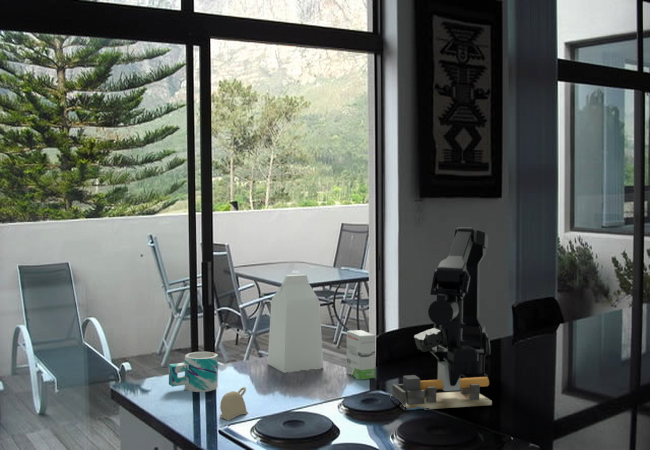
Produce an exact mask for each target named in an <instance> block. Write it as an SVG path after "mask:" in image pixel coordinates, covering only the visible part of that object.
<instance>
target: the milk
mask: <svg viewBox="0 0 650 450" xmlns="http://www.w3.org/2000/svg"><path fill="white" fill-rule="evenodd" d="M321 312H322V311H321V303H320V300H319V298H318V296H317V294H316V292H315V291H314V289H313V287H312V286H311V284H310V282H309V279H308V276H307V274H286V275H285V276H284V279H283V281H282V283H281V285H280V287H279V288H278V289H277V291H276V292H275V293H274V295H273V296H272V298H271V302H270V315H269V334H268V335H269V336H268V351H267V353H268V354H267V364H268V365H269V366H270V367H273V368H275V369H276V370H278V371H280V372H282V373H284V374H286V373H287V372H288V373H294V372H293V371H297V372H300V371H299V370H306V371H309V370H308V369H315V370H320V369H319V368H323V369H324V360H323V359H324V358H323V357H324V356H323V335H322V316H321V315H322V314H321Z"/></svg>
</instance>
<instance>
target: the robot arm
mask: <svg viewBox="0 0 650 450" xmlns="http://www.w3.org/2000/svg"><path fill="white" fill-rule="evenodd" d="M452 239H453V241H452V244H451V248H450V250H449V253H448V256H447V258H444V259H443V260H441V261H440V262H439V264H438V266H437V268H436V269H434V273H433V276H432V283H431V288H430V295H431V296H436V300H434V301H433V302H431V304H430V305H429V307H428V309H427V310H428V311H427V313H428V317H429V319H430V321H431V322H432V323H433V328H430V329H426V330H424V331H422V332H419V333H417V334H414V336H413V338H414V341H415V345H416V347H417V350H420V351H421V352H422V353H424V352H428V351H429V352H430V353H431V354H432V355H433V356H434V357H435V358H436V360H437V363H438V362H447V363H448V368H449V379H450V385H451V386H455V385H456V383H457V381H458V379H459V377H460V378H461V376H462V377H463V378H475V377H488V374H486V373H485V368H486V367H485V365H486V364H485V361H486V356H488V355H491V343H490V338H489V337H488V333H487V332H486V324H485V323H484V321H483V320H482V318H481V316H480V293H481V292H480V287H481V286H480V283H481V282H480V281H481V279H480V278H481V277H480V276H481V272H480V271H481V262H482V260H483V259H484V257H486V254H487V249H488V248H489V235H488V234H487V233H486V232H485V231H483V230H482V231H481V230H478V229H476V228H474V227H468V226H467V227H466V226H459V227H455V230H454V232H453V238H452Z"/></svg>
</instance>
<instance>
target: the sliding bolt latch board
mask: <svg viewBox="0 0 650 450" xmlns="http://www.w3.org/2000/svg"><path fill="white" fill-rule="evenodd" d="M391 388H392V389H391V392H392V394H391V396H393V397H395V398H397V399H398V400H399V401H400V402H401V403H402V405H403V406H404V407H406V408H416V407H424V408H429V409H428V410H434V409H435V410H437V409H450V408H465V407H467V408H469V407H479V406H480V407H481V406H492V405H493V401H492V400H491V399H490V398H488V397H487V396H485V395H483V394H481V393H480V388H481V387H480V385H479V384H470V387H466V388H460V390H459V391H444V392H437V389H436V387H435V386H433V387H427V390H414V391H407V392H406V391H405V390H403V383H398V384H396V383H395V384H392V387H391Z"/></svg>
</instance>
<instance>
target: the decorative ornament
mask: <svg viewBox="0 0 650 450" xmlns="http://www.w3.org/2000/svg"><path fill="white" fill-rule="evenodd" d="M246 391H247V388H246V387H245V386H243V387H241V388H240V389H239V390H238V391H229V392H226V394H224V395H223V396H222V398H221V401H220V406H219V408H220V412H221V413H220V415H219V416H220V418H222V419H224V420H225V421H230V420H232V419H234V418H235V417H237V416H240V415H248V414H249V412H248V411H247V408H246V402H245V400H244V398H243V396H244V395H245V393H246Z"/></svg>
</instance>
